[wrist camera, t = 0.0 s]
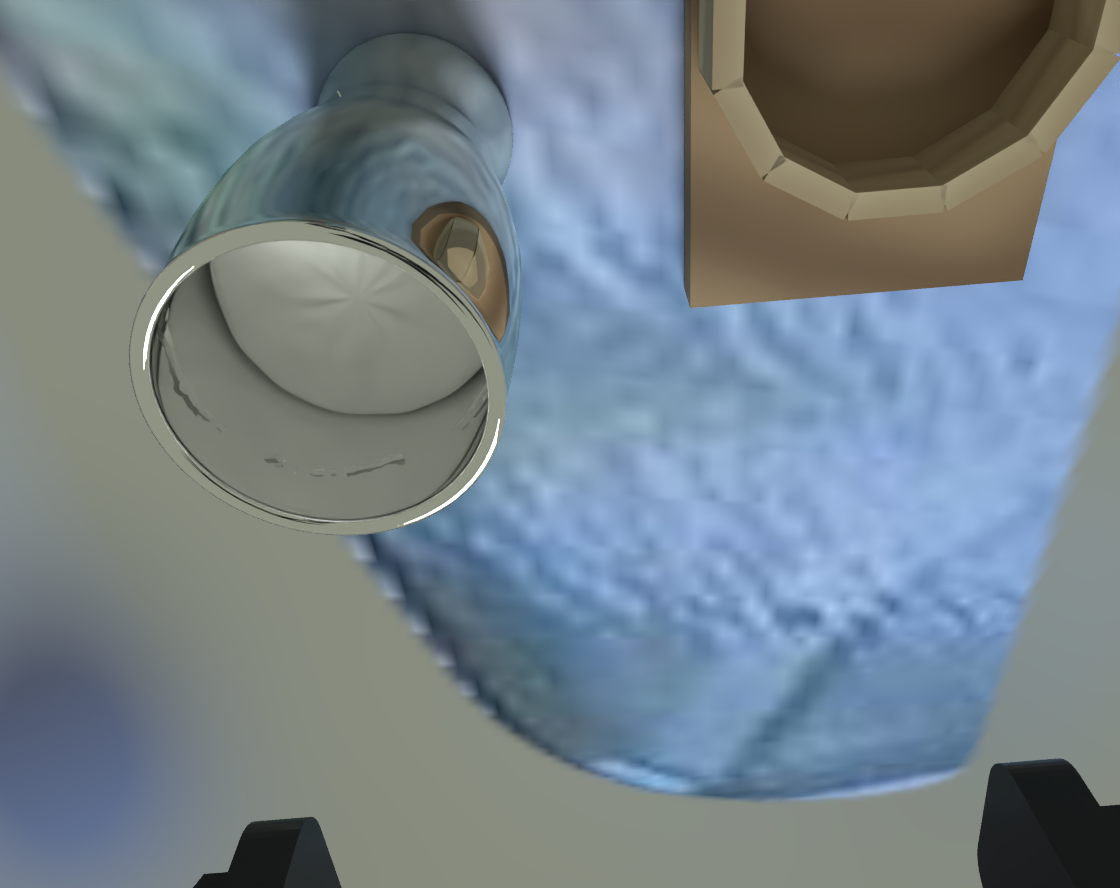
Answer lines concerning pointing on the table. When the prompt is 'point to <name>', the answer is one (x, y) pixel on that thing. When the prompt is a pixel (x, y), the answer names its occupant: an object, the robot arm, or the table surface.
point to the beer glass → (345, 302)
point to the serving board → (875, 139)
